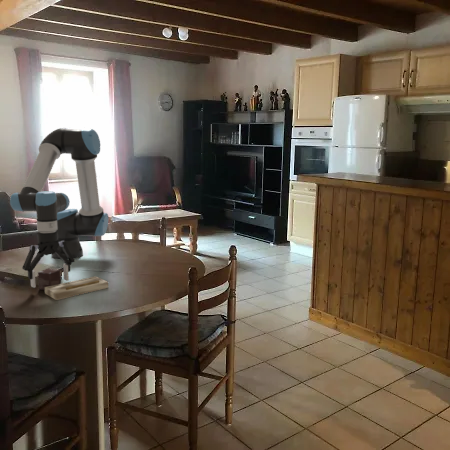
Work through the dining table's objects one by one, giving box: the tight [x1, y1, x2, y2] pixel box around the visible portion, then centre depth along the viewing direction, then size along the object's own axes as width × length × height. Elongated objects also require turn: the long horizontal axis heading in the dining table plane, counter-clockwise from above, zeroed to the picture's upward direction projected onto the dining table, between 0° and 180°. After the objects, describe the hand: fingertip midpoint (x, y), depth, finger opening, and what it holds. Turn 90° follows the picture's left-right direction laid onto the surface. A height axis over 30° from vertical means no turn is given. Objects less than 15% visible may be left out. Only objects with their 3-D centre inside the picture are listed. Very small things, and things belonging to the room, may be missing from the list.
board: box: [44, 275, 109, 301], centre depth 189 cm, size 10×22×3 cm, turn 134°
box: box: [37, 267, 61, 291], centre depth 191 cm, size 6×6×7 cm
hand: (50, 283), depth 190 cm, fingers open, 13 cm apart
